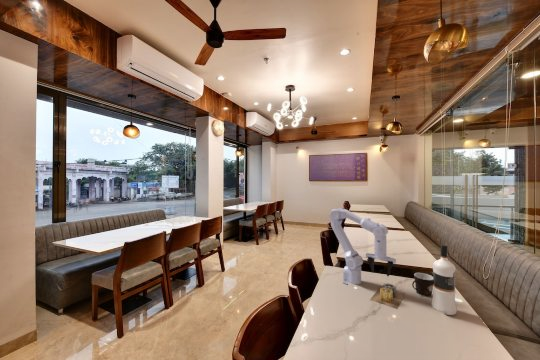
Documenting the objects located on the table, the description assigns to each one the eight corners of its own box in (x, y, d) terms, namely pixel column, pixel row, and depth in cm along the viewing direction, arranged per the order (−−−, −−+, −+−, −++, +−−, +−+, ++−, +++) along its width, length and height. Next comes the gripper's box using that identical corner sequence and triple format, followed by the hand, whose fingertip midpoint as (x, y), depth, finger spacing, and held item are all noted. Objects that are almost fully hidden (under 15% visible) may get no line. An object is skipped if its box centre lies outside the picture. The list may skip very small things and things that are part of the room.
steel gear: (384, 296, 116) (384, 287, 116) (382, 291, 121) (382, 282, 121) (396, 298, 114) (396, 289, 114) (394, 292, 119) (394, 284, 119)
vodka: (436, 302, 112) (437, 241, 112) (459, 311, 105) (460, 246, 104) (427, 308, 107) (428, 244, 107) (451, 318, 99) (452, 249, 99)
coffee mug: (427, 291, 123) (427, 273, 123) (437, 300, 114) (438, 280, 114) (404, 290, 124) (405, 272, 124) (413, 299, 116) (413, 279, 115)
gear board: (369, 302, 113) (369, 291, 112) (380, 288, 126) (380, 278, 126) (397, 311, 105) (397, 299, 105) (405, 296, 119) (405, 285, 118)
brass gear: (378, 299, 113) (378, 290, 113) (382, 295, 117) (382, 286, 117) (390, 303, 109) (390, 294, 109) (394, 299, 113) (394, 290, 113)
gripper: (363, 247, 124) (363, 272, 124) (393, 252, 114) (393, 280, 115) (368, 244, 129) (368, 268, 129) (397, 249, 120) (396, 275, 120)
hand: (380, 273), depth 122 cm, fingers open, 7 cm apart
